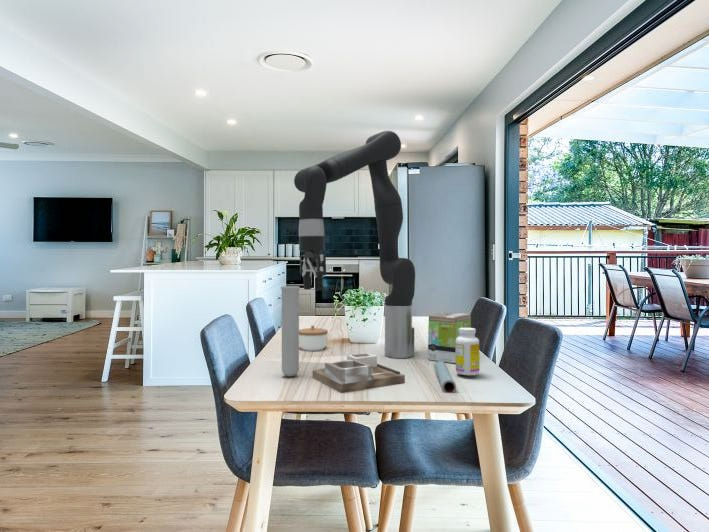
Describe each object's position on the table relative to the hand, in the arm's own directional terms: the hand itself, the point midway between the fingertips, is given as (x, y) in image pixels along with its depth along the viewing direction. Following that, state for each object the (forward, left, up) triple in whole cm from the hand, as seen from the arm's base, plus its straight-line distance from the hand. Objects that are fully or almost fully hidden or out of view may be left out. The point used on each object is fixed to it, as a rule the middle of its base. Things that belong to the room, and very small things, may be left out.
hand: (313, 289), depth 132 cm
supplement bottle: (-37, +25, -24) cm, 51 cm away
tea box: (-47, +6, -24) cm, 53 cm away
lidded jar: (-11, -26, -24) cm, 37 cm away
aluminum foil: (-24, +28, -24) cm, 44 cm away
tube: (+9, +4, -24) cm, 26 cm away
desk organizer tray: (-6, +17, -24) cm, 30 cm away
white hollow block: (-10, +11, -22) cm, 26 cm away
